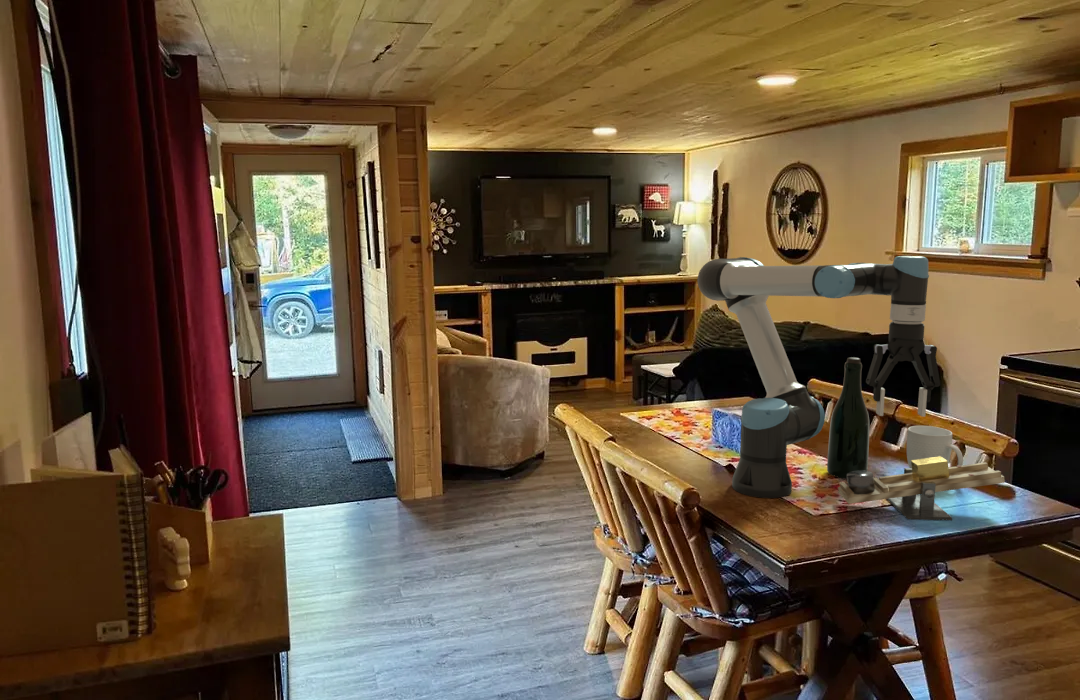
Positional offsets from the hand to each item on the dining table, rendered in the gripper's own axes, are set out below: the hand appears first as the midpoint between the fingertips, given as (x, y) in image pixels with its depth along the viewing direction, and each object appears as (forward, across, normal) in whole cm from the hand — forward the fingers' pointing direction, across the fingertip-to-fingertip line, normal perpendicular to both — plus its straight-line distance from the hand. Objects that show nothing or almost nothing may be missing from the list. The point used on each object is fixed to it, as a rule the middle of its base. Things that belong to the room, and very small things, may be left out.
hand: (900, 414), depth 186 cm
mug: (+24, +18, +25) cm, 39 cm away
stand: (+23, +6, 0) cm, 24 cm away
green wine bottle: (+24, -4, +26) cm, 35 cm away
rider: (+16, +8, 0) cm, 18 cm away
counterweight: (+19, -8, 0) cm, 21 cm away
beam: (+17, +6, 0) cm, 18 cm away
